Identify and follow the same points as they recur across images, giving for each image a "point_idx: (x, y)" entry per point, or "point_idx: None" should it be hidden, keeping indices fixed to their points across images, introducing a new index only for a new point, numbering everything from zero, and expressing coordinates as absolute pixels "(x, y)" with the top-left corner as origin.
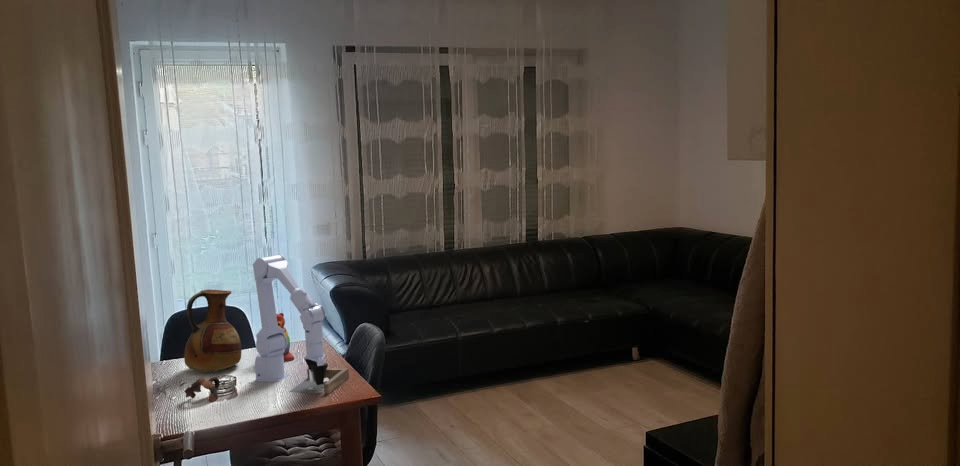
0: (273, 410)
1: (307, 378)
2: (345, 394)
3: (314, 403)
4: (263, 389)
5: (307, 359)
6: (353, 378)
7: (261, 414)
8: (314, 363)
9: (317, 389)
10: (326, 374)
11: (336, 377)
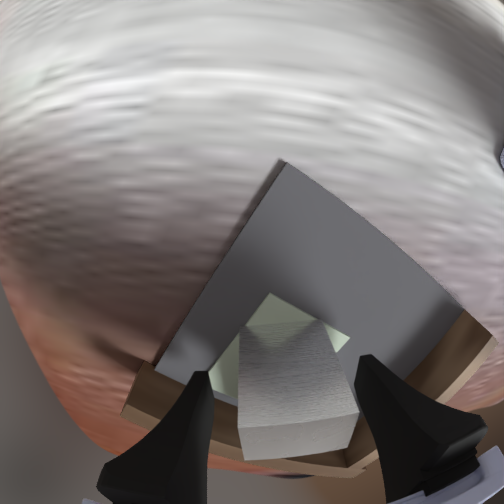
0: (13, 81)
1: (460, 307)
2: None
3: (34, 288)
4: (429, 41)
5: (440, 458)
6: None
7: (5, 40)
8: (395, 455)
9: (227, 349)
10: None
11: (236, 459)
